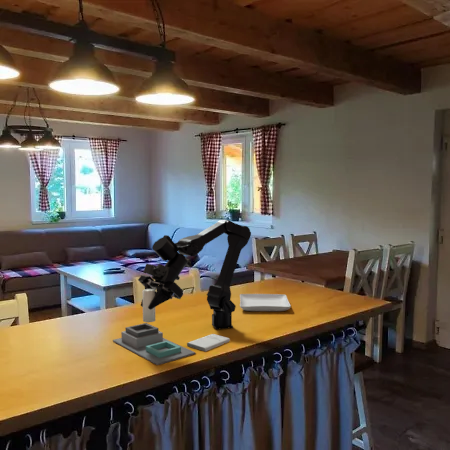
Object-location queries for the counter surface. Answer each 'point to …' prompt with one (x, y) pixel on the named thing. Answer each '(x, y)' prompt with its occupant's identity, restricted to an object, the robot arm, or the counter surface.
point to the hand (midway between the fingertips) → (145, 307)
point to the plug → (147, 298)
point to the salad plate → (264, 302)
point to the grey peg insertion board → (151, 344)
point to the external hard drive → (208, 342)
